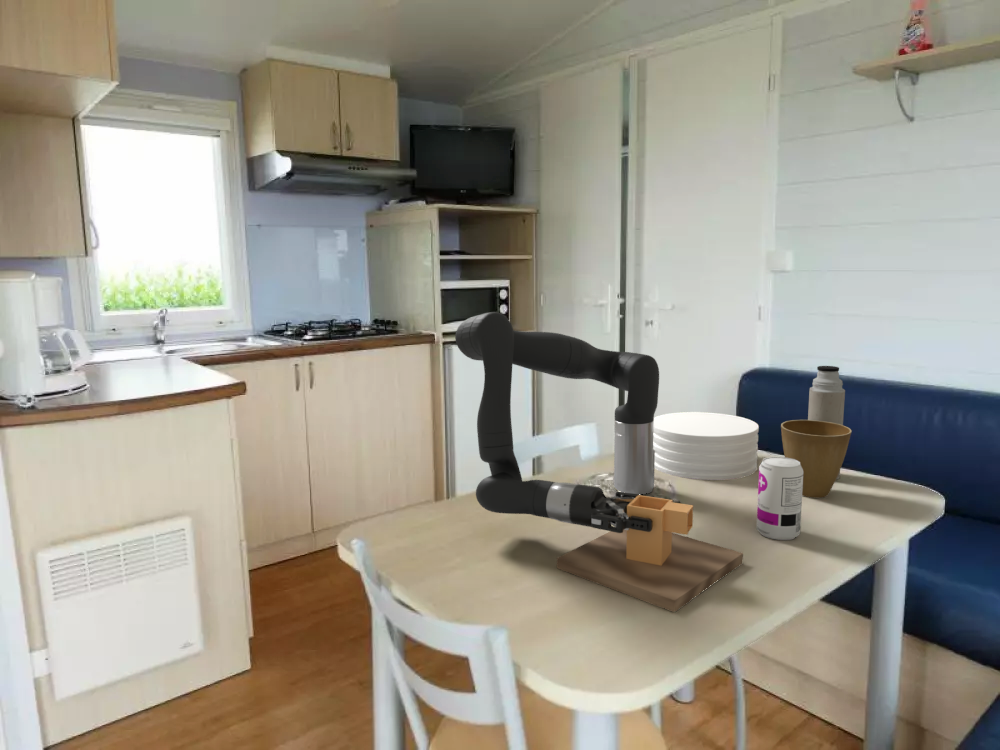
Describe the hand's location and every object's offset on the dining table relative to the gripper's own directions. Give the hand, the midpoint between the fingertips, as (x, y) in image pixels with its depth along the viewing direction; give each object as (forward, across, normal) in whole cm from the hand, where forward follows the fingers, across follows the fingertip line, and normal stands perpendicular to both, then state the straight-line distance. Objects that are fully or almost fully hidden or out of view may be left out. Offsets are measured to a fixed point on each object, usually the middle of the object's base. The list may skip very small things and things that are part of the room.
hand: (659, 517), depth 124 cm
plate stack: (-8, +68, +10) cm, 69 cm away
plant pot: (+21, +55, +10) cm, 60 cm away
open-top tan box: (0, 0, +7) cm, 8 cm away
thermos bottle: (+22, +70, +10) cm, 74 cm away
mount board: (-2, 0, +10) cm, 10 cm away
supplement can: (+17, +26, +10) cm, 33 cm away
